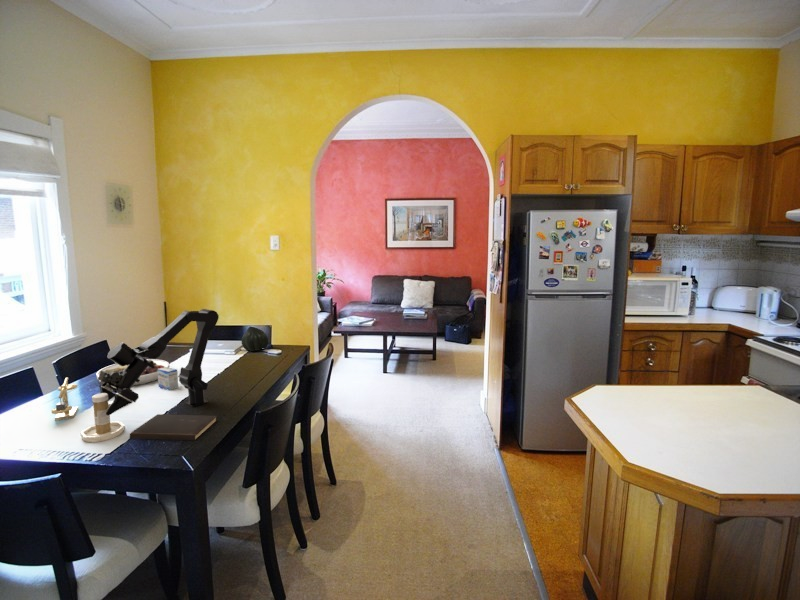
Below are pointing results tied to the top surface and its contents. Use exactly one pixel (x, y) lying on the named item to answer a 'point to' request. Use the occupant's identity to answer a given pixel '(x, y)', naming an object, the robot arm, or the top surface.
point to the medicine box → (167, 378)
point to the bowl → (146, 376)
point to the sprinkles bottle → (101, 413)
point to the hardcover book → (173, 427)
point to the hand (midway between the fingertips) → (101, 411)
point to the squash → (254, 339)
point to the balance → (65, 403)
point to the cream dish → (92, 436)
